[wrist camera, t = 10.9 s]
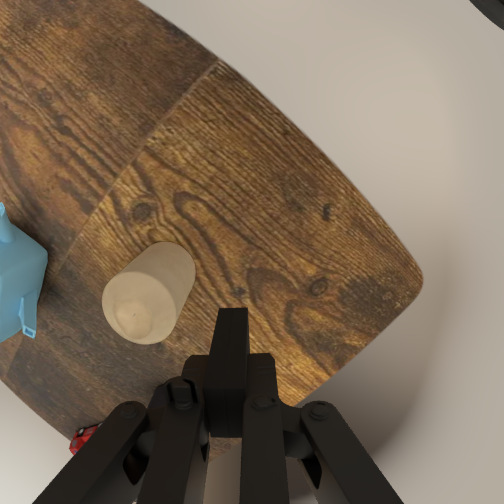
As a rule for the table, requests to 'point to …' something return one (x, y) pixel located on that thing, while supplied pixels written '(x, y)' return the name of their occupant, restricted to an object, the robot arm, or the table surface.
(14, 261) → the teapot
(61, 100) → the table surface
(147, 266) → the candle
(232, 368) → the robot arm
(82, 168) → the table surface
